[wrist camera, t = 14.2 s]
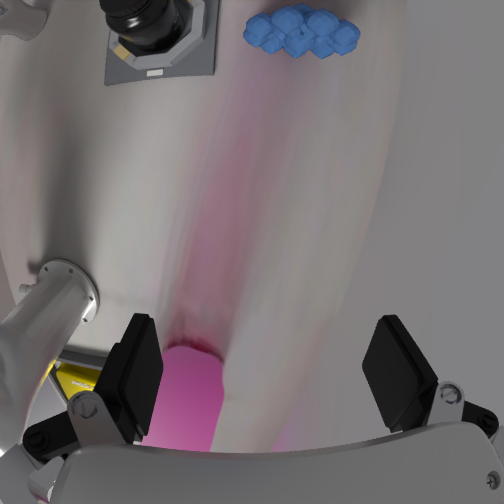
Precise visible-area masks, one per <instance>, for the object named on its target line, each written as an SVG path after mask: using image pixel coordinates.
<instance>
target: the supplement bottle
mask: <svg viewBox="0 0 504 504" xmlns="http://www.w3.org/2000/svg"><path fill="white" fill-rule="evenodd" d="M99 2H100V6H101V9H102V10H103V11H104V12H105V13H106V15H105V18H106V23H107V25H108V26H109V28H110V29H111V30H112V31H114V32H115V33H117V34H118V35H119V36H121V37H122V38H124V39H125V40H126V41H128V42H129V43H131V44H132V45H133V46H135V47H136V48H138V49H139V50H142V51H144V52H158V51H162V50H164V49H167V48H168V47H170V46H172V45H173V44H174V43H175V42H176V41H177V40H178V39H179V38H180V36H181V35H182V33H183V30H184V19H183V16H182V14H181V12H180V10H179V9H178V7H177V5H176V3H175V1H174V0H100V1H99Z"/></svg>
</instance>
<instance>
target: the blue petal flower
mask: <svg viewBox="0 0 504 504" xmlns="http://www.w3.org/2000/svg"><path fill="white" fill-rule="evenodd" d="M360 34H361V33H360V31H359V29H358V28H357V27H356V26H355V25H354V24H352V23H350V22H349V21H347V20H345V19H343V20H339V19H338V17H337V16H336V15H334V14H333V13H332V12H330V11H328V10H326V9H319V10H316V11H315V10H314V9H313V8H311V7H310V6H308V5H306V4H304V3H301V4H297V5H295V6H293V7H291V6H289V5H288V6H285V7H282V8H280V9H278V10H276V11H275V12H274V13H273V14H272V15H271V16H270V15H268V14H266V13H264V12H262V13H260V14H257V15H255V16H253V17H252V18H250V19H249V20H248V21H247V23H246V30H245V31H244V32H243V37H244V38H245V40H246V41H247V42H248V43H249V44H251V45H252V46H254V47H259V46H260V47H261V48H262V49H263V50H264V51H266V52H267V53H269V54H272V53H274V52H276V51H278V50H280V49H281V48H282V47H283V48H284V50H285V51H286V52H287V53H288V54H289V55H291V56H292V57H294V58H297V57H299V56H301V55H303V54H305V53H306V52H307V51H308V50H311V51H312V52H313V53H314V54H315V55H316V56H318V57H319V58H321V59H323V58H326V57H328V56H330V55H332V54H333V53H334V52H336V53H338V54H339V55H341V56H342V55H344V54H346V53H349V52H351V51H352V50H354V49H355V48H356V45H357V40H358V39H359V37H360Z"/></svg>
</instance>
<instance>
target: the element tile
mask: <svg viewBox="0 0 504 504" xmlns="http://www.w3.org/2000/svg"><path fill="white" fill-rule="evenodd" d="M101 371H102V370H97V369H92V368H87V367H82V366H78V365H73V364H69V363H65V362H62V363H61V364H60V366H59V368H58V370H57V371H56V375H57V378H58V380H59V382H60V384H61V386H62V388H63V390H64V392H65V394H66V396H67V398H68V400H69V399H70V398H71V397H72V396H73V395H74V394H75V393H77V392H79V391H84V390H89V391H93V389H94V387H95V384H96V382H97V380H98V378H99V375H100V373H101Z"/></svg>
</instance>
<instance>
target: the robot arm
mask: <svg viewBox="0 0 504 504" xmlns="http://www.w3.org/2000/svg"><path fill="white" fill-rule="evenodd" d="M19 292H20V294H21V295H26V296H25V297H24V298H23V299H22V300H21V302H20V303H19V304H18V305H17V306H16V307H15V308H14V309H13V310H12V311H11V312H10V313H9V315H8V316H7V317H6V318H5V319H4V320H3V321H2V322H1V324H0V499H1V500H2V502H3V503H4V504H504V426H502V425H501V426H500V427H499V422H498V418H497V417H496V415H495V414H494V413H493V412H491V411H489V410H487V409H485V408H482V407H479V406H477V405H474V404H472V403H470V402H467V401H465V400H464V399H465V398H464V392H463V390H462V389H461V388H460V386H458V385H457V384H456V383H454V382H450V381H444V382H442V383H440V384H439V383H438V382H437V380H438V378H437V376H436V374H435V373H434V371H433V369H432V368H431V366H430V365H429V363H428V361H427V360H426V358H425V357H424V355H423V354H422V352H421V350H420V349H419V347H418V346H417V345H416V343H415V341H414V340H413V339H412V337H411V335H410V334H409V332H408V331H407V329H406V328H405V327H404V325H403V324H402V322H401V321H400V319H399V318H398V316H396V315H384V316H383V317H382V318H381V319H380V320H379V321H378V323H377V326H376V329H375V331H374V334H373V337H372V340H371V342H370V345H369V348H368V350H367V353H366V355H365V358H364V360H363V363H362V369H363V372H364V374H365V376H366V379H367V381H368V384H369V386H370V388H371V391H372V393H373V396H374V398H375V401H376V403H377V406H378V408H379V411H380V413H381V416H382V418H383V421H384V423H385V426H386V427H389V429H390V432H391V433H394V432H397V431H401V430H402V431H403V432H401V433H397V434H393V435H389V436H385V437H381V438H376V439H372V440H368V441H362V442H357V443H352V444H346V445H340V446H334V447H327V448H319V449H310V450H301V451H289V452H272V453H216V452H199V451H198V452H197V451H186V450H176V449H167V448H159V447H151V446H142V445H134V444H133V442H134V441H138V442H142V439H143V436H147V434H148V431H149V426H150V422H151V417H152V413H153V409H154V405H155V401H156V397H157V393H158V389H159V385H160V381H161V377H162V373H163V361H162V357H161V352H160V348H159V343H158V338H157V333H156V328H155V323H154V319H153V318H150V317H149V315H148V314H141V313H135V314H134V315H133V317H132V319H131V321H130V323H129V325H128V327H127V329H126V331H125V333H124V335H123V337H122V339H121V342H120V343H115V344H114V346H113V347H112V349H111V352H110V354H109V356H108V358H107V360H106V362H105V364H104V367H103V369H102V371H101V373H100V375H99V378H98V380H97V382H96V384H95V387H94V389H93V391H89V390H84V391H79V392H77V393H75V394H74V395H73V396H72V397H71V398H70V399H69V401H68V404H67V411H65V412H62V413H60V414H58V415H56V416H53V417H51V418H49V419H46V420H44V421H42V422H39V423H37V424H34V425H32V426H31V427H29V428H27V430H26V426H27V422H28V418H29V414H30V411H31V408H32V405H33V402H34V400H35V398H36V396H37V394H38V392H39V390H40V388H41V386H42V384H43V382H44V380H45V379H46V377H47V375H48V373H49V372H50V370H51V368H52V366H53V365H54V363H55V361H56V360H57V358H58V357H59V355H60V353H61V352H62V350H63V348H64V347H65V345H66V344H67V342H68V341H69V339H70V337H71V336H72V334H73V333H74V331H75V330H76V328H77V327H78V325H86V324H88V323H90V322H91V321H92V320H93V319H94V318H95V316H96V314H97V312H98V309H99V299H98V294H97V292H96V289H95V287H94V285H93V283H92V281H91V280H90V279H89V277H88V276H87V275H86V274H85V273H84V272H83V271H82V270H81V269H80V268H79V267H78V266H76V265H75V264H73V263H71V262H69V261H66V260H63V259H53V260H50V261H48V262H47V263H46V264H45V265H44V266H43V267H42V268H41V270H40V272H39V276H38V282H37V283H36V284H32V285H31V286H30V285H26V284H21V285H20V287H19ZM22 442H23V443H22ZM55 480H56V482H55V483H54V481H55ZM53 485H54V487H53V490H52V494H51V497H50V501H48V498H47V494H48V491H49V489H50V488H51V487H52V486H53Z"/></svg>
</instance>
